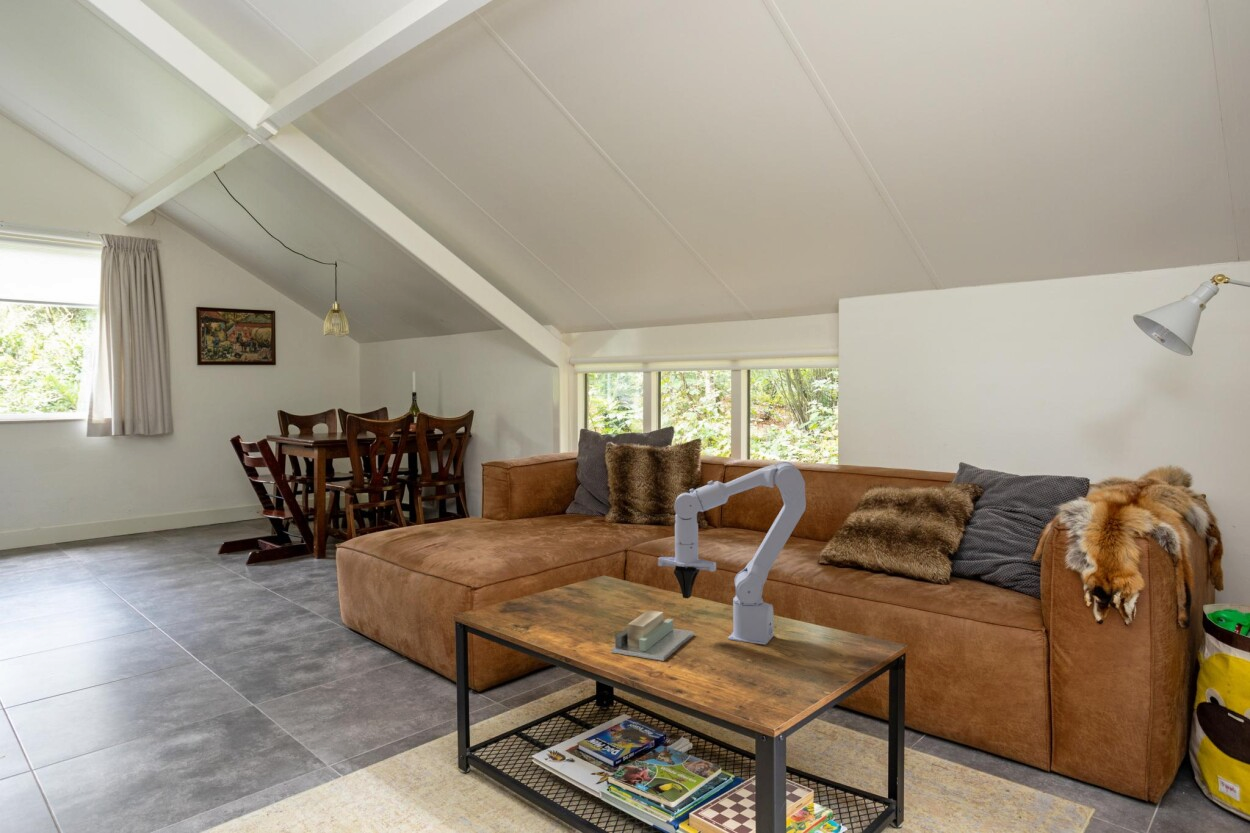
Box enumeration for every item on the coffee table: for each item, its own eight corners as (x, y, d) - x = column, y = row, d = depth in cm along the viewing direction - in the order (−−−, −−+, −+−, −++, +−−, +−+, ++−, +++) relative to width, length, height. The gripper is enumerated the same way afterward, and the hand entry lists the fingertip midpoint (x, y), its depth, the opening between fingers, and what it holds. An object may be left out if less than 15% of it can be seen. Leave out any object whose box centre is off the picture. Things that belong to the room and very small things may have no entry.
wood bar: (663, 632, 183) (663, 612, 183) (643, 647, 173) (643, 626, 172) (648, 630, 185) (648, 610, 185) (627, 645, 174) (627, 624, 174)
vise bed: (693, 635, 184) (693, 620, 184) (663, 661, 167) (663, 645, 167) (645, 628, 190) (645, 614, 189) (611, 652, 173) (611, 637, 172)
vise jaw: (673, 629, 185) (673, 619, 185) (645, 651, 170) (645, 640, 170) (667, 628, 186) (667, 618, 186) (639, 650, 171) (639, 639, 170)
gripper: (652, 543, 183) (653, 598, 183) (709, 548, 176) (709, 605, 177) (664, 537, 189) (664, 590, 190) (718, 542, 183) (719, 597, 183)
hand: (686, 597), depth 184 cm, fingers closed
